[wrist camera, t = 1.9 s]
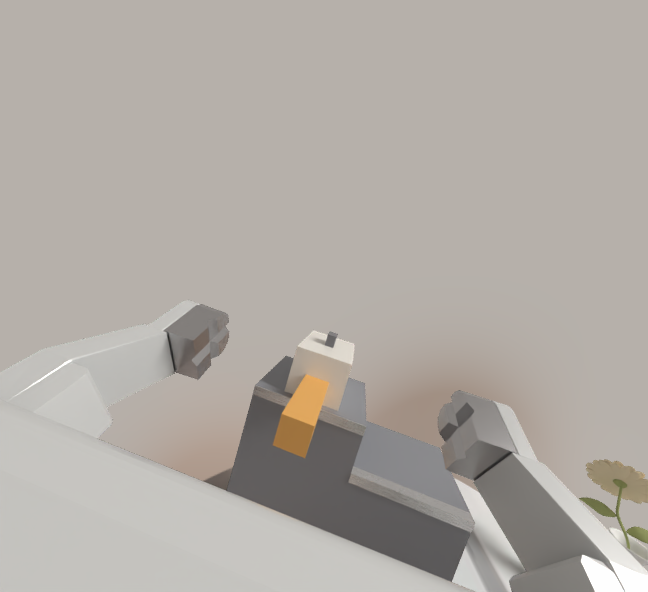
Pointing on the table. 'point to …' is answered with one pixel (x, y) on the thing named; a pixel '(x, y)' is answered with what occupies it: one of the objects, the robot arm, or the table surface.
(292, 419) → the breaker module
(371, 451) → the stand
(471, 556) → the table surface
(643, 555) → the flower in vase
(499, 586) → the table surface
